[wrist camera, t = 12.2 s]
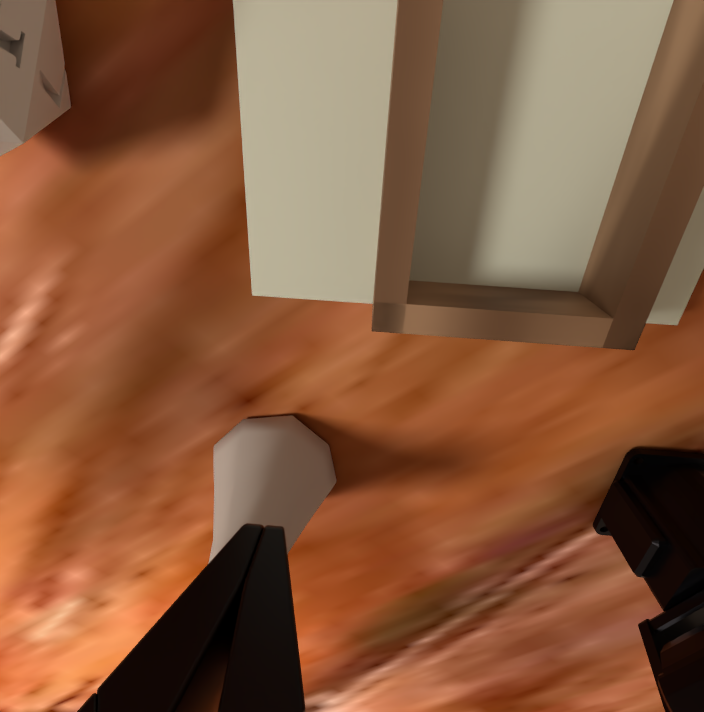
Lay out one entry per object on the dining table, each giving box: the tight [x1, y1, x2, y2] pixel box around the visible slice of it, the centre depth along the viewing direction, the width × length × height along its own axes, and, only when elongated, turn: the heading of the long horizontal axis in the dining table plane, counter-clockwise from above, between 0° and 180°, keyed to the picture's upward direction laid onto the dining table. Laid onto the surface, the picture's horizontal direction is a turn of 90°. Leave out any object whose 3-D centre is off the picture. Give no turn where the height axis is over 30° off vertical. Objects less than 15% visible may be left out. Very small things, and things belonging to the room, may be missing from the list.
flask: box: [209, 415, 337, 563], centre depth 20 cm, size 7×7×10 cm
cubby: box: [372, 0, 704, 350], centre depth 14 cm, size 10×11×3 cm
